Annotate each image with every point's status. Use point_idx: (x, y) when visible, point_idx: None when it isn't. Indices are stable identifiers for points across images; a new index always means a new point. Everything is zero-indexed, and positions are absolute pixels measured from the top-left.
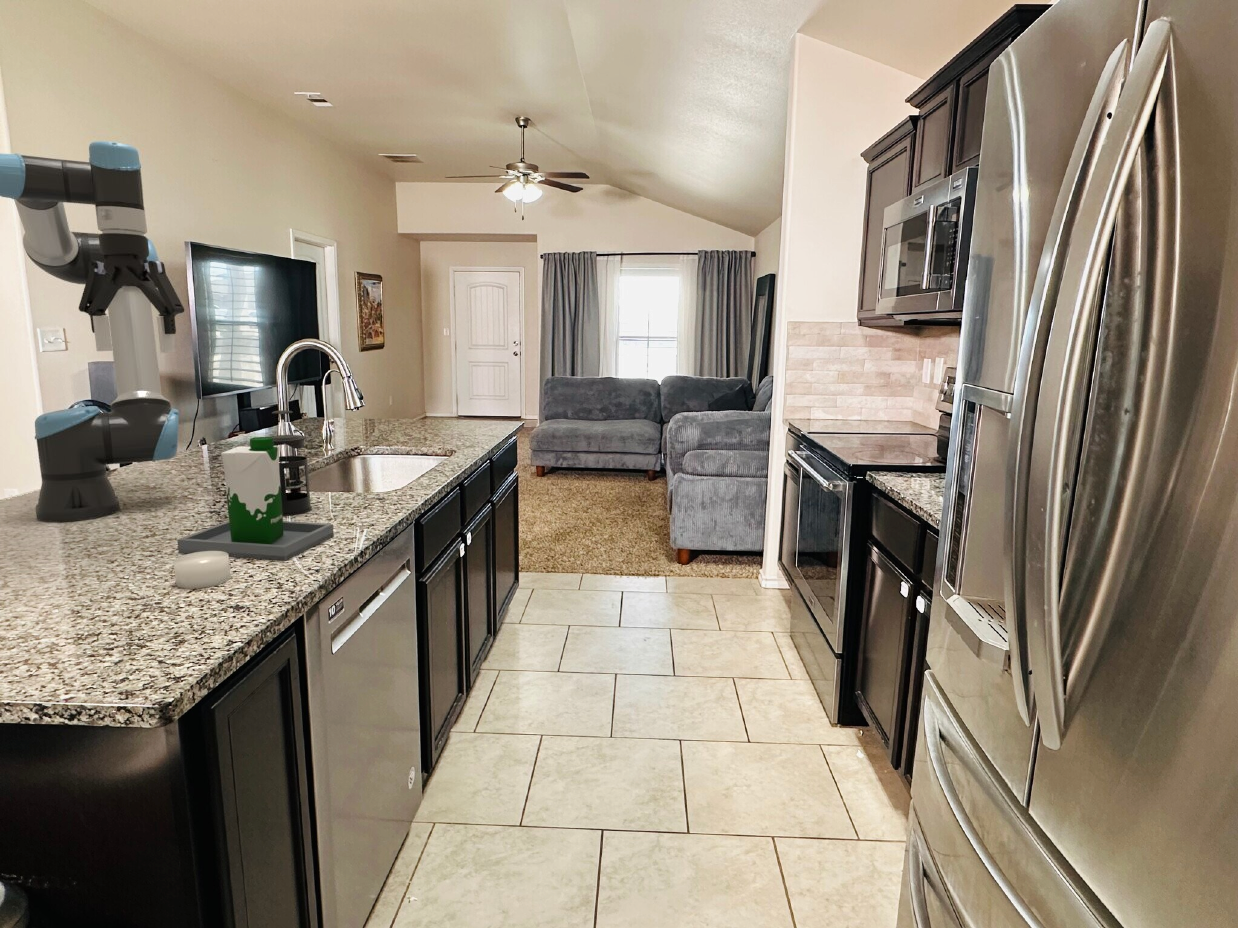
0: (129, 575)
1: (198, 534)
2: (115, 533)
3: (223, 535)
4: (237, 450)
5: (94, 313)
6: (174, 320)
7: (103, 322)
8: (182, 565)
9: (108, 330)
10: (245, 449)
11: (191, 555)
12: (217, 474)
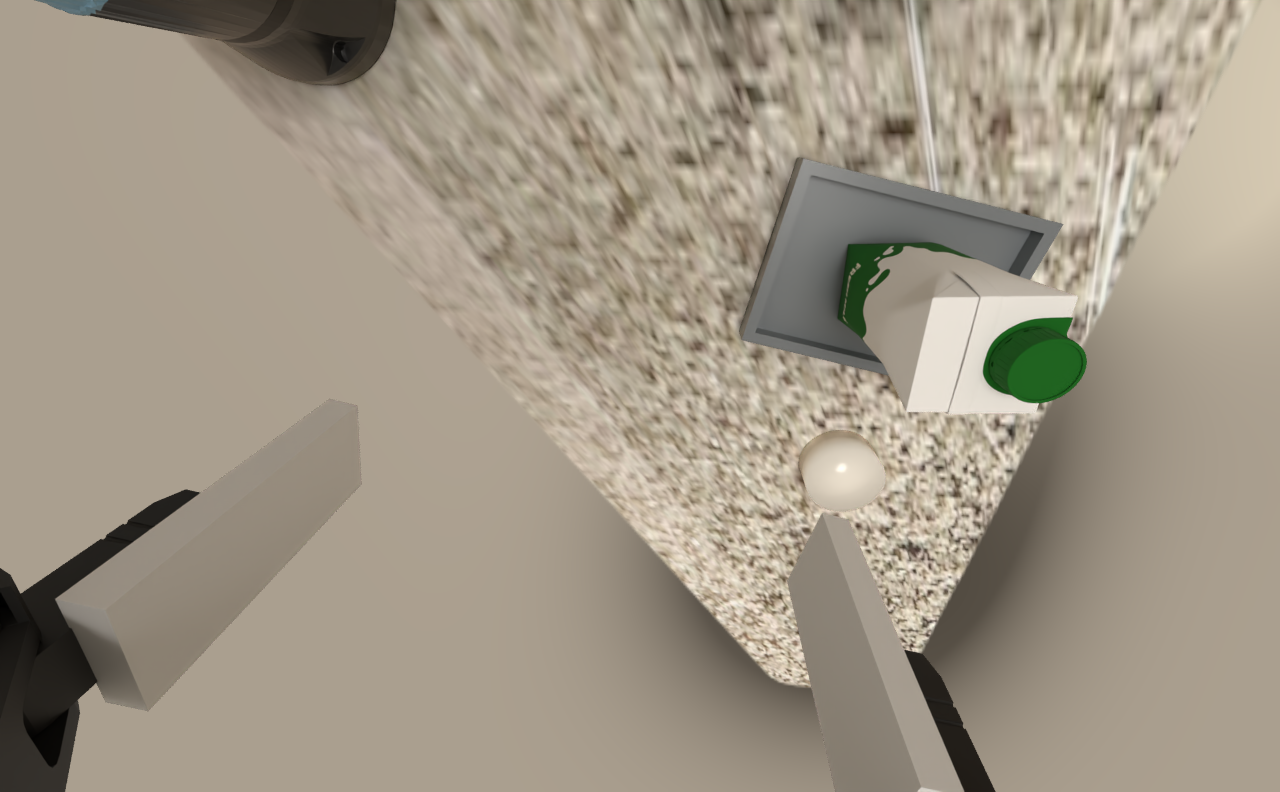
0: (715, 437)
1: (766, 299)
2: (536, 189)
3: (796, 244)
4: (946, 373)
5: (67, 713)
6: (989, 787)
7: (191, 601)
8: (828, 509)
9: (245, 508)
10: (973, 375)
11: (824, 469)
12: None
